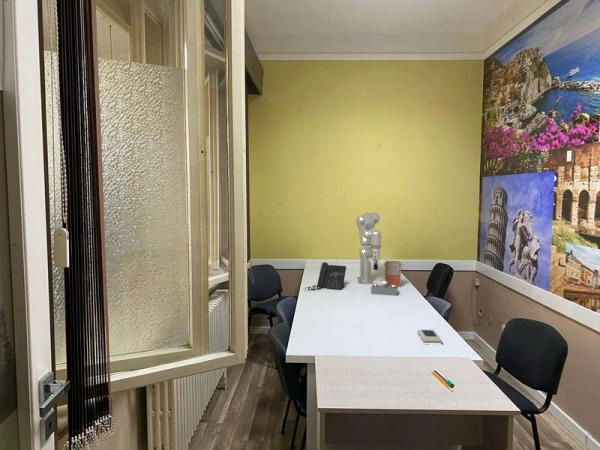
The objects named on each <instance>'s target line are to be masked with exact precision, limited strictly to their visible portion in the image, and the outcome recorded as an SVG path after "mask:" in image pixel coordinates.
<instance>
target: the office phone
mask: <svg viewBox="0 0 600 450" xmlns="http://www.w3.org/2000/svg"><path fill="white" fill-rule="evenodd" d="M320 265H321V266H320V271H319V274H318V280H317V284H316V285H315V284H313V285H312V286H308V287H305V288H304V290H305V289H306V288H311V287H314V286H317V287H319V288H317V287H314V288H311V289H308V290H313V291H315V290H314V289H319V290H320V289H323V288H327V289H329V290H337V291H342V290H343V288H344V286H345V282H344V281H345V276H346V272H347V267H346V265H338V264H337V265H336V264H335V265H334V264H329V263H328V262H326V261H325V262H322V263H321V264H320Z"/></svg>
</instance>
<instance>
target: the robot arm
mask: <svg viewBox="0 0 600 450" xmlns="http://www.w3.org/2000/svg"><path fill="white" fill-rule="evenodd" d="M380 219H381V218H380V214H379V213H378V212H364V213H363V215H361V214H360V215H358V216H357V217H356V218H355V220H356V222H355V223H356V226H357V229H358V231H359V232H358V233H359V243H360V244H359V245H361V246H362V247H361V248H360V249H359V251H358V252H359V269H360V270H359V276H357V277H356V280H357V281H358V283H359V284H362V285H371V284H374V282H373V280H372V262H371V261H370V259H372V261H373V270H374V271H378V269H379V262H380V260H381V258H380V257H381V255H380V254H381V252H380V251H381V249H382V232H381V231H380V230H379V229H374V228H375V226H376V225H377V224H378V223H379V222H380Z"/></svg>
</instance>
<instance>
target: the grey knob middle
mask: <svg viewBox="0 0 600 450" xmlns="http://www.w3.org/2000/svg"><path fill="white" fill-rule="evenodd" d="M386 284H387V281H385V280H382V281H381V285H383V287H385V288H386Z"/></svg>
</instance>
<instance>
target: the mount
mask: <svg viewBox="0 0 600 450" xmlns="http://www.w3.org/2000/svg"><path fill="white" fill-rule="evenodd" d="M398 289H399V287H398V286H396V288H391V286H386V288H385V287H383V284H381V285H380V284H378V287H373V284H372V285H371V288H370V294H371V295H378V296H379V295H382V296H398V292H399V291H398Z"/></svg>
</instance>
